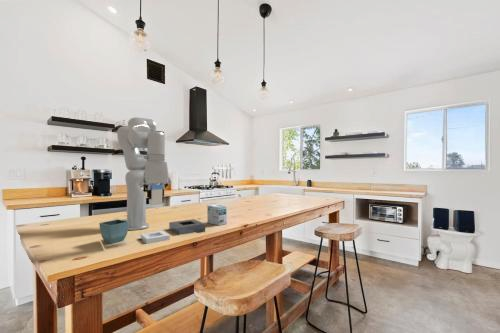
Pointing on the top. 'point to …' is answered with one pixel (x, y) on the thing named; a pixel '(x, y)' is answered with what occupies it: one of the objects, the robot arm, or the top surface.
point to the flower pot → (114, 230)
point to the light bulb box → (217, 214)
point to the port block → (187, 226)
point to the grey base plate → (155, 237)
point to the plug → (156, 195)
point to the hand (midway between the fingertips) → (155, 197)
